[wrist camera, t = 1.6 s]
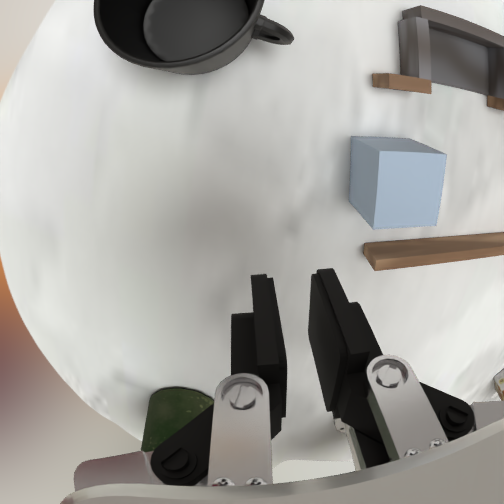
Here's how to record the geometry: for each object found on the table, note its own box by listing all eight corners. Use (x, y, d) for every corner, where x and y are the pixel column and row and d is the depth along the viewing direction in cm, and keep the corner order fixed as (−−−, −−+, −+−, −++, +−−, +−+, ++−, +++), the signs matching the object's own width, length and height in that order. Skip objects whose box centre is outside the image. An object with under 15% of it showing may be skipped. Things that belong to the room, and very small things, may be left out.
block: (404, 198, 28) (436, 225, 22) (348, 200, 28) (373, 229, 22) (410, 138, 25) (446, 154, 19) (350, 136, 25) (379, 151, 19)
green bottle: (178, 425, 46) (168, 561, 24) (136, 394, 41) (109, 549, 19) (231, 412, 44) (234, 565, 22) (191, 378, 39) (178, 561, 17)
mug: (260, 100, 23) (272, 107, 15) (122, 60, 20) (70, 53, 12) (303, 3, 19) (336, -32, 11) (164, -36, 16) (133, -81, 8)
